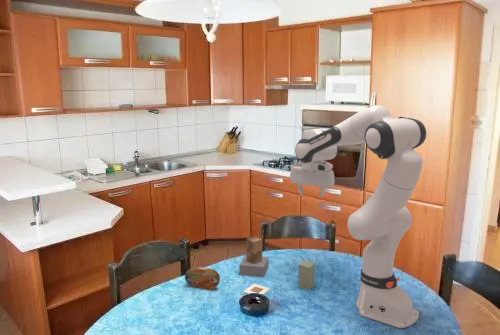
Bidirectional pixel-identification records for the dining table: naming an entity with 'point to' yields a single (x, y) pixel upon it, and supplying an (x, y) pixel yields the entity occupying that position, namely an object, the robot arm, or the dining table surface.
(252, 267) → the base block
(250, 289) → the card
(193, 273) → the tin
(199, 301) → the dining table surface
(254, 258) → the walnut block
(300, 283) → the olive block
